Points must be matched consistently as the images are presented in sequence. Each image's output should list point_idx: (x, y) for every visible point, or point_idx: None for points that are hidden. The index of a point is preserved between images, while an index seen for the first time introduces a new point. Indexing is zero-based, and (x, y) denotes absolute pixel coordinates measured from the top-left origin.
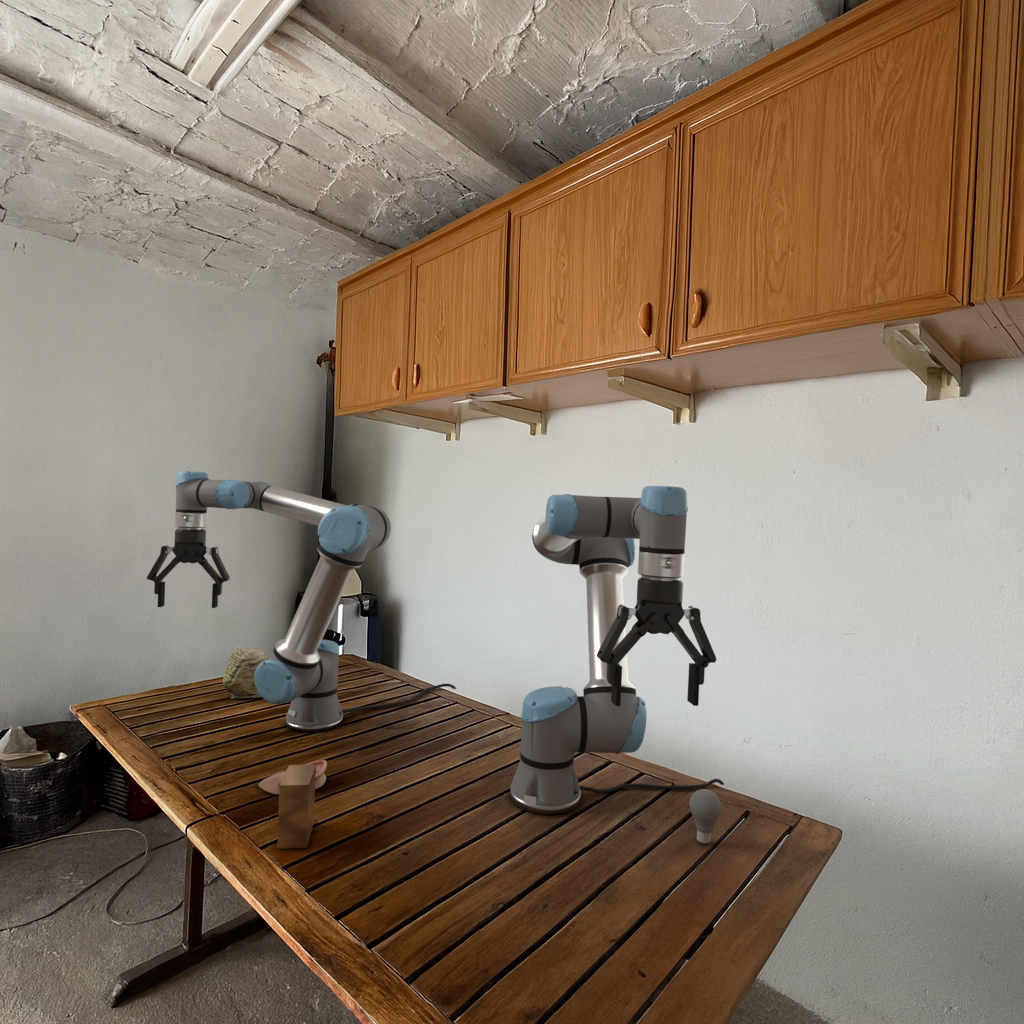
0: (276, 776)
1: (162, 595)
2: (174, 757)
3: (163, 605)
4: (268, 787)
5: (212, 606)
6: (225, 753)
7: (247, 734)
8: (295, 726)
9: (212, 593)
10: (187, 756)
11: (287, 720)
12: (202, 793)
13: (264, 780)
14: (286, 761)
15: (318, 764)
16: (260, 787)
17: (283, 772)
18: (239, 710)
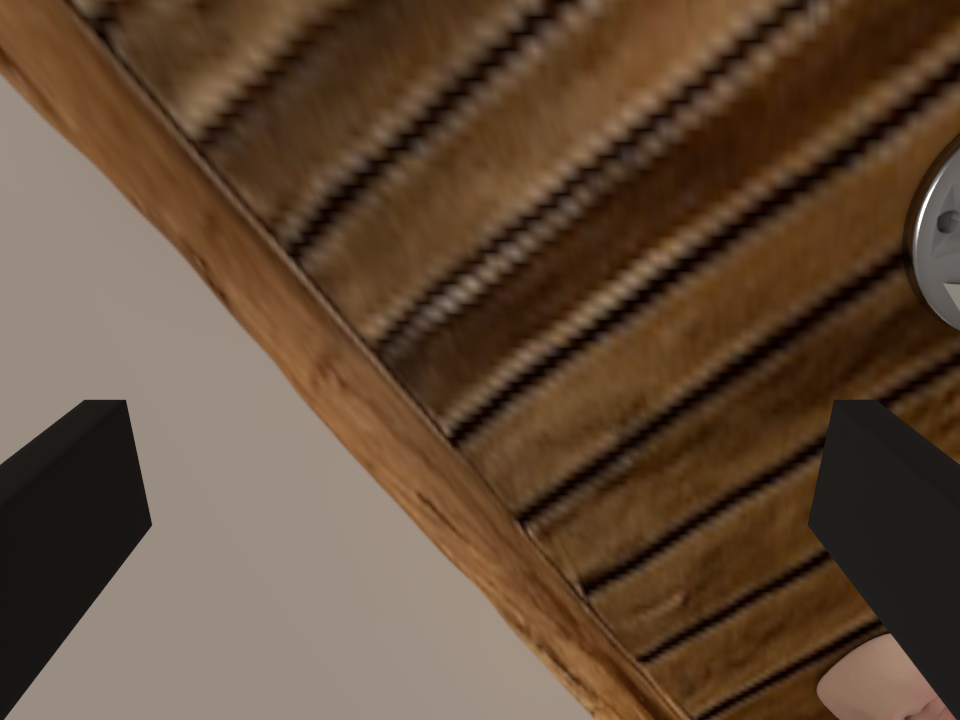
0: (874, 716)
1: (46, 579)
2: (552, 516)
3: (130, 438)
4: (845, 717)
5: (827, 540)
6: (700, 495)
7: (754, 339)
8: (947, 323)
9: (938, 693)
10: (589, 511)
11: (924, 282)
12: (684, 706)
13: (836, 696)
14: None
15: None
16: (823, 703)
17: (893, 701)
18: (684, 25)
